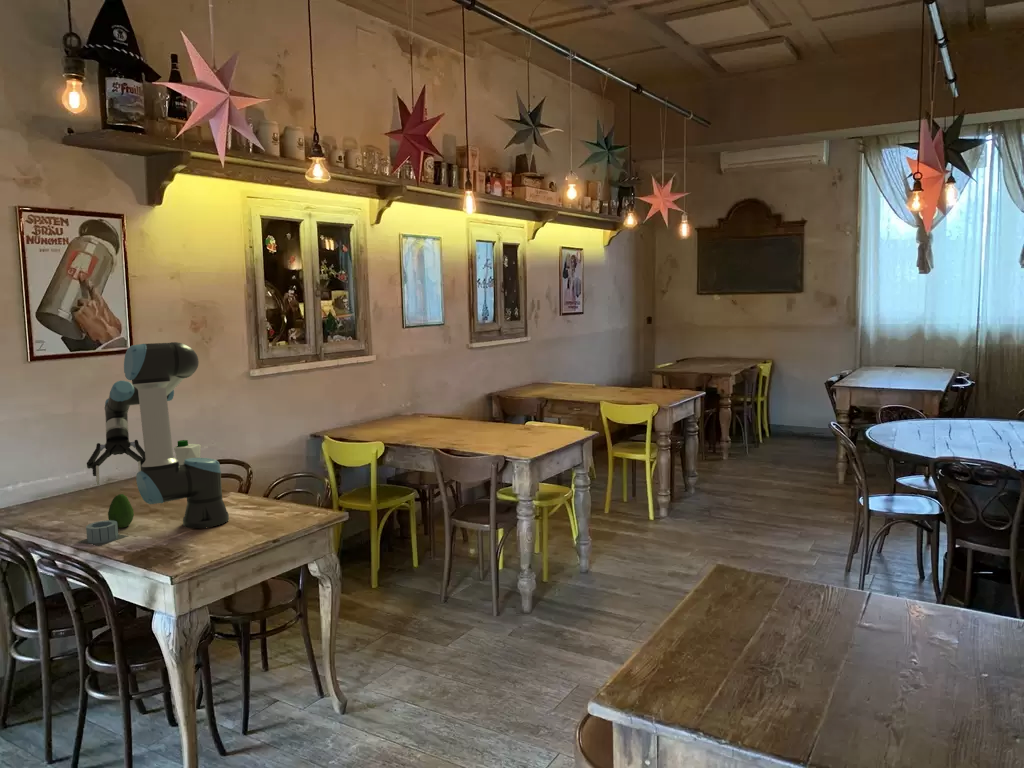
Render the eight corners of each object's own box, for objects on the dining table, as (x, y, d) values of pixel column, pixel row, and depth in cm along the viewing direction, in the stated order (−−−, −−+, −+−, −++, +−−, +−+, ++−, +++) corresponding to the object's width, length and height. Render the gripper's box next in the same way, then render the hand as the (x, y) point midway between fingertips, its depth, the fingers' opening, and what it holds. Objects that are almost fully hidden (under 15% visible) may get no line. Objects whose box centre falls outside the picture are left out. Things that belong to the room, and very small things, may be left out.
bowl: (124, 536, 250) (123, 522, 249) (100, 544, 242) (98, 530, 241) (105, 533, 253) (104, 519, 253) (81, 541, 245) (79, 526, 245)
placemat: (129, 537, 250) (128, 535, 250) (99, 547, 240) (99, 546, 240) (106, 533, 255) (106, 532, 255) (76, 543, 245) (76, 542, 245)
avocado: (131, 522, 266) (128, 490, 265) (137, 527, 260) (134, 494, 259) (106, 527, 261) (103, 494, 260) (112, 532, 255) (109, 498, 254)
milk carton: (186, 484, 320) (183, 438, 317) (206, 485, 318) (203, 439, 316) (174, 489, 311) (171, 442, 309) (194, 490, 310) (191, 443, 307)
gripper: (154, 435, 288) (157, 481, 277) (80, 441, 277) (80, 490, 266) (153, 423, 283) (157, 470, 271) (77, 430, 272) (78, 479, 260)
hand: (119, 480), depth 268 cm, fingers open, 13 cm apart
